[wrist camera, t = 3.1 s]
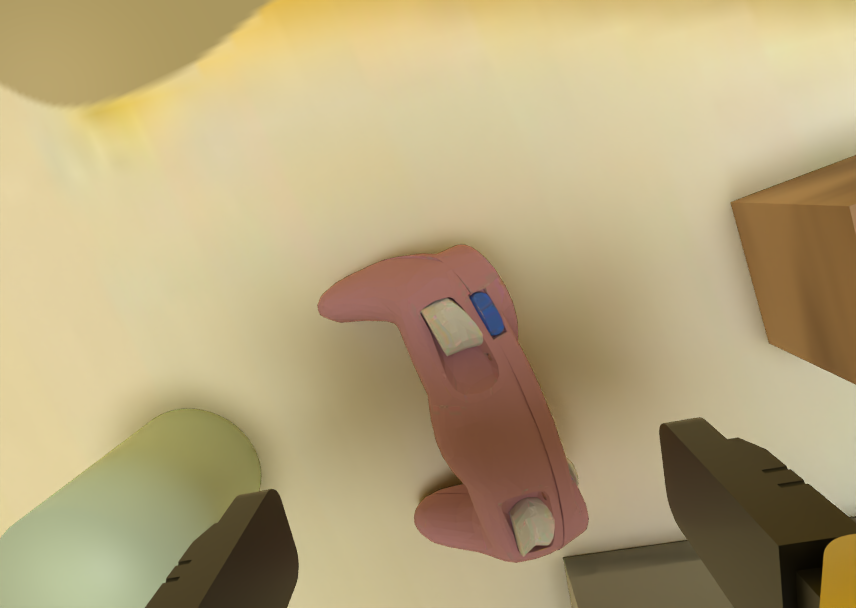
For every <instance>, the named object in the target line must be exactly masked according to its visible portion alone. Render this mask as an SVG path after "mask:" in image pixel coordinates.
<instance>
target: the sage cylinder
mask: <svg viewBox="0 0 856 608" xmlns="http://www.w3.org/2000/svg"><path fill="white" fill-rule="evenodd" d="M260 484H261V468H260V463H259V459H258V456H257V454H256V451H255V449H254V447H253V446H252V444H251V442H250V441H249V440H248V438H247V437H246V436H245V435H244V433H243V432H242V431H241V430H240V429H238V428H237V427H236V426H235V425H234V424H232V423H231V422H229V421H228V420H226V419H225V418H223V417H221V416H219V415H216V414H214V413H211V412H208V411H204V410H198V409H178V410H173V411H169V412H166V413H164V414H161V415H159V416H158V417H156V418H154V419H153V420H152V421H150V422H149V423H148V424H146V425H145V426H144V427H142V428H141V429H140V430H138V431H137V432H136V433H134V434H133V435H132V436H130V437H129V438H128V439H126V440H125V441H124V442H122V443H121V444H120V445H118V446H117V447H116V448H114V449H113V450H112V451H110V452H109V453H108V454H106V455H105V456H104V457H102V458H101V459H100V460H98V461H97V462H96V463H94V464H93V465H92V466H90V467H89V468H88V469H86V470H85V471H84V472H82V473H81V474H80V475H78V476H77V477H76V478H74V479H73V480H72V481H70V482H69V483H68V484H66V485H65V486H64V487H62V488H61V489H60V490H58V491H57V492H56V493H54V494H53V495H52V496H50V497H49V498H48V499H46V500H45V501H44V502H42V503H41V504H40V505H38V506H37V507H36V508H34V509H33V510H32V511H30V512H29V513H28V514H26V515H25V516H24V517H22V518H21V519H20V520H18V521H17V522H16V523H15V524H13V525H12V526H11V527H10V528H8V530H7V531H6V532H5V533H4V534H3V535H2V536H1V538H0V608H145V607H146V605H147V604H148V602H149V601H150V600H151V598H152V597H153V596H154V594H155V593H156V592H157V590H158V589H159V587H160V586H161V585H162V583H166V578H167V576H168V575H169V574H170V572H171V571H172V570H173V568H174V567H175V566H178V561H179V560H180V559H181V557H182V556H183V555H184V553H185V552H186V550H187V549H188V548H189V546H190V545H191V544H192V542H193V541H194V540H196V539H197V538H198V537H199V536H200V535H201V534H203V533H204V532H205V531H206V530H207V529H208V528H210V527H211V526H212V525H213V524H214V523H218V522H219V520H220V519H221V517H222V516H223V515H224V513H225V512H226V510H227V509H228V507H229V506H230V504H231V503H232V502H233V500H234V499H235V498H236V497H237V496H238V495H241V494H247V493H252V492H258V491H259V489H260Z"/></svg>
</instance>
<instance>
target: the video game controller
mask: <svg viewBox="0 0 856 608" xmlns="http://www.w3.org/2000/svg"><path fill="white" fill-rule="evenodd" d="M317 306H318V311H319V313H320V315H321V316H323V317H325V318H328V319H330V320H333V321H336V322H341V323H343V322H355V321H388V322H391V323H394V324H396V325H397V326H398V328H399V330H400V333H401V335H402V338H403V340H404V343H405V345H406V348H407V350H408V353H409V355H410V357H411V360H412V362H413V364H414V367H415V369H416V371H417V373H418V375H419V377H420V380H421V382H422V384H423V386H424V388H425V390H426V393H427V395H428V401H429V408H430V416H431V422H432V426H433V430H434V434H435V439H436V442H437V445H438V447H439V449H440V452H441V454H442V456H443V458H444V459H445V461H446V462H447V464H448V465H449V467H450V468H451V470H452V471H453V473H454V474H455V475H456V476H457V477H458V478H459V479H460V480H461V482H462V483H463V484H461V485H456V486H452V487H448V488H444V489H441V490H438V491H436V492H434V493H433V494H431V495H429V496H426V497H425V498H424V499H423V500H422V501H421V502H420V503H419V505H418V507H417V508H416V511H415V514H414V523H415V525H416V527H417V529H418V530H419V532H420V533H421V534H422V535H424V536H425V537H426V538H427V539H429V540H430V541H432V542H434V543H437V544H441V545H444V546H448V547H453V548H458V549H464V550H469V551H475V552H480V553H483V554H486V555H489V556H492V557H495V558H498V559H501V560H503V561H508V562H515V563H517V562H522V561H527V560H532V559H536V558H539V557H542V556H545V555H548V554H551V553H552V552H554V551H556V550H560V549H561V548H562V547H564V546H565V545H566V544H568V543H569V542H571V541H572V540H573V539H575V538H576V537H577V536H579V535H580V534H581V533H583V532H584V531H585V530H586V529H587V525H588V520H589V518H588V512H587V508H586V504H585V502H584V499H583V497H582V495H581V493H580V491H579V489H578V487H577V486H578V476H577V473H576V470H575V468H574V465H573V464H572V462H571V461H570V460H569V459H568V458H566V456H565V453H564V450H563V447H562V444H561V441H560V438H559V435H558V432H557V430H556V427H555V424H554V421H553V418H552V416H551V413H550V411H549V408H548V406H547V403H546V401H545V398H544V396H543V394H542V391H541V389H540V386H539V384H538V381H537V379H536V377H535V375H534V373H533V371H532V369H531V366H530V364H529V362H528V360H527V358H526V356H525V354H524V352H523V350H522V348H521V346H520V345H519V343H518V325H517V317H516V313H515V309H514V305H513V302H512V300H511V297H510V295H509V293H508V291H507V288H506V286H505V284H504V283H503V281H502V280H501V278H500V276H499V275H498V273H497V272H496V270H495V268H494V267H493V266H492V265H491V264H490V263H489V262H488V261H487V259H486V258H485V257H484V256H483V255H482V254H481V253H479V252H478V251H477V250H475V249H474V248H472V247H470V246H467V245H456V246H453V247H451V248H449V249H447V250H445V251H442V252H440V253H438V254H415V255H408V256H400V257H395V258H390V259H386V260H382V261H380V262H378V263H375V264H373V265H370V266H368V267H366V268H364V269H362V270H360V271H358V272H355V273H353V274H351V275H349V276H347V277H345V278H344V279H342V280H340V281H338V282H337V283H335V284H334V285H333V286H332V287H330V288H329V289H328V290H327V291H326V292H325V293H324V294H323V295H322V296H321V297H320V300H319V303H318V305H317Z"/></svg>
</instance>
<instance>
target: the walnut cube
mask: <svg viewBox="0 0 856 608" xmlns="http://www.w3.org/2000/svg"><path fill="white" fill-rule="evenodd" d="M731 206H732V210H733V213H734V217H735V221H736V224H737V228H738V232H739V235H740V239H741V243H742V246H743V250H744V254H745V257H746V261H747V264H748V268H749V272H750V275H751V279H752V283H753V286H754V290H755V294H756V297H757V301H758V305H759V308H760V312H761V316H762V319H763V323H764V327H765V330H766V334H767V338H768V341H769V343H770V344H772V345H774V346H776V347H778V348H780V349H783V350H785V351H787V352H789V353H791V354H793V355H795V356H797V357H799V358H801V359H803V360H806V361H808V362H810V363H812V364H814V365H816V366H818V367H820V368H822V369H824V370H827V371H829V372H831V373H833V374H835V375H837V376H839V377H841V378H843V379H845V380H847V381H850V382H852V383H854V384H856V155H855V156H852V157H850V158H847V159H844V160H842V161H839V162H836V163H834V164H831V165H828V166H826V167H823V168H820V169H818V170H815V171H812V172H810V173H807V174H804V175H802V176H799V177H796V178H794V179H791V180H788V181H786V182H783V183H780V184H778V185H775V186H772V187H770V188H767V189H764V190H762V191H759V192H756V193H754V194H751V195H748V196H746V197H743V198H740V199H738V200H735V201H732V202H731Z"/></svg>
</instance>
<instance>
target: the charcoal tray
mask: <svg viewBox="0 0 856 608" xmlns="http://www.w3.org/2000/svg"><path fill="white" fill-rule="evenodd" d="M851 519H852V520H853V521H854V522H856V517H852V518H851ZM563 560H564V566H565V571H566V577H567V583H568V589H569V594H570V600H571V606H572V608H734V607H733V606H732V604H731V603H730V601H729V600H728V598H727V597H726V595H725V594H724V592H723V591H722V590H721V588H720V587H719V585H718V584H717V582H716V581H715V579H714V578H713V576H712V575H711V573H710V572H709V571H708V569H707V568H706V566H705V565H704V563H703V562H702V560H701V559H700V557H699V556H698V554H697V553H696V551H695V550H694V549H693V547H692V546H691V544H690V543H689V541H681V542H674V543H666V544H659V545H652V546H645V547H638V548H631V549H624V550H616V551H609V552H602V553H595V554H588V555H581V556H573V557H566V558H563Z"/></svg>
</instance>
